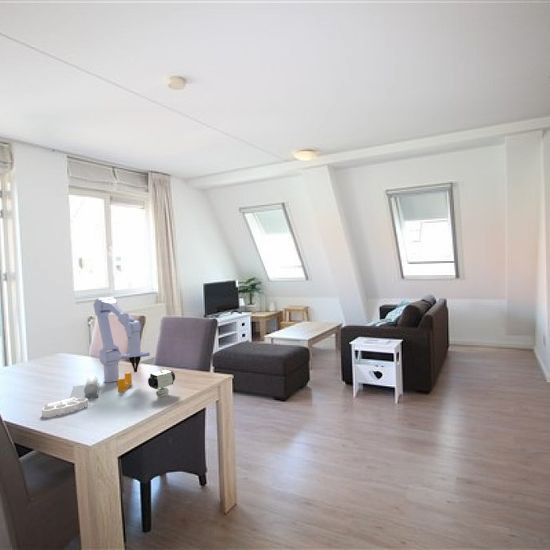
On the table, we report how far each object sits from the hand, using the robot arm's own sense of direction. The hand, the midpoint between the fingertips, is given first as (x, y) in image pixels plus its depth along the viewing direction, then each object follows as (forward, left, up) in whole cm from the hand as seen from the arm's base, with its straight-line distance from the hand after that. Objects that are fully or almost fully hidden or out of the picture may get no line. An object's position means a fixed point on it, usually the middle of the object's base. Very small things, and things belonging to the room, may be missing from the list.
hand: (135, 371), depth 205 cm
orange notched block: (+1, -6, -8) cm, 10 cm away
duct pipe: (0, -23, -7) cm, 24 cm away
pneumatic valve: (+23, +11, -7) cm, 26 cm away
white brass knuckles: (+21, -30, -8) cm, 38 cm away
